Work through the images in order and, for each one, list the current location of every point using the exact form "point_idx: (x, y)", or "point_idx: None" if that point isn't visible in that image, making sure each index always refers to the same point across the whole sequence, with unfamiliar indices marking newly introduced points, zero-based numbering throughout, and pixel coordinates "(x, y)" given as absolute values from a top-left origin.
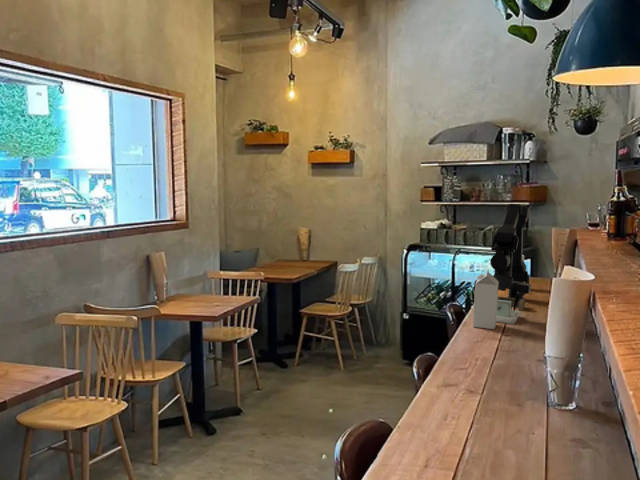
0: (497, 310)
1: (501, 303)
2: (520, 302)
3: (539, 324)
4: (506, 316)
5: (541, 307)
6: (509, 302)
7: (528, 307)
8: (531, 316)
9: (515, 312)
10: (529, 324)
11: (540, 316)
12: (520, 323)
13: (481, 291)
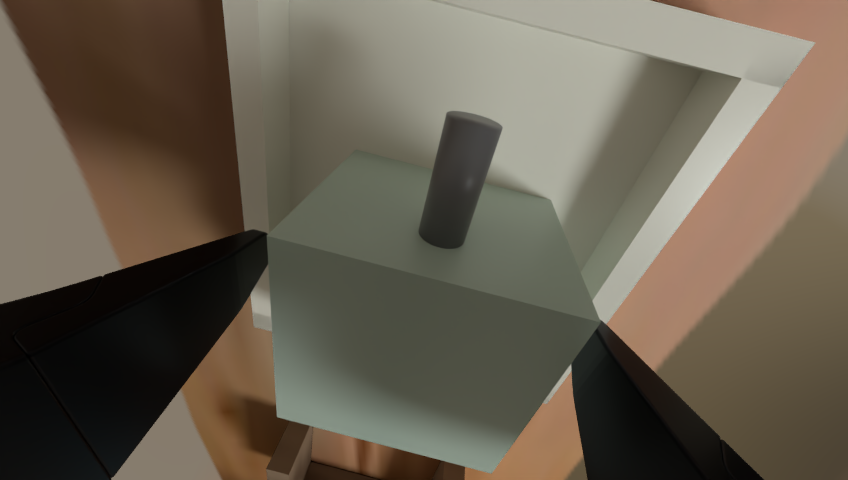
0: (474, 216)
1: (403, 287)
2: (279, 477)
3: (38, 61)
4: (365, 161)
5: (218, 463)
6: (287, 365)
7: None
8: None
9: None
10: (113, 17)
11: None
12: (211, 30)
13: None
